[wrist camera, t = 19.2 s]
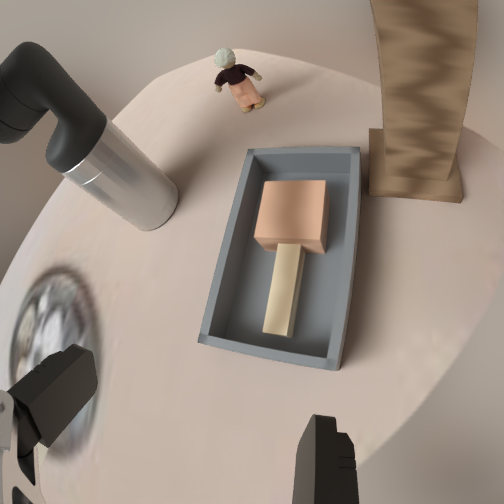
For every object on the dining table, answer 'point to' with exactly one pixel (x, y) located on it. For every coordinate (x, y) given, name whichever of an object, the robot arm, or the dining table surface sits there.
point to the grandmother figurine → (237, 80)
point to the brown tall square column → (421, 96)
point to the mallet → (290, 243)
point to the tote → (262, 262)
